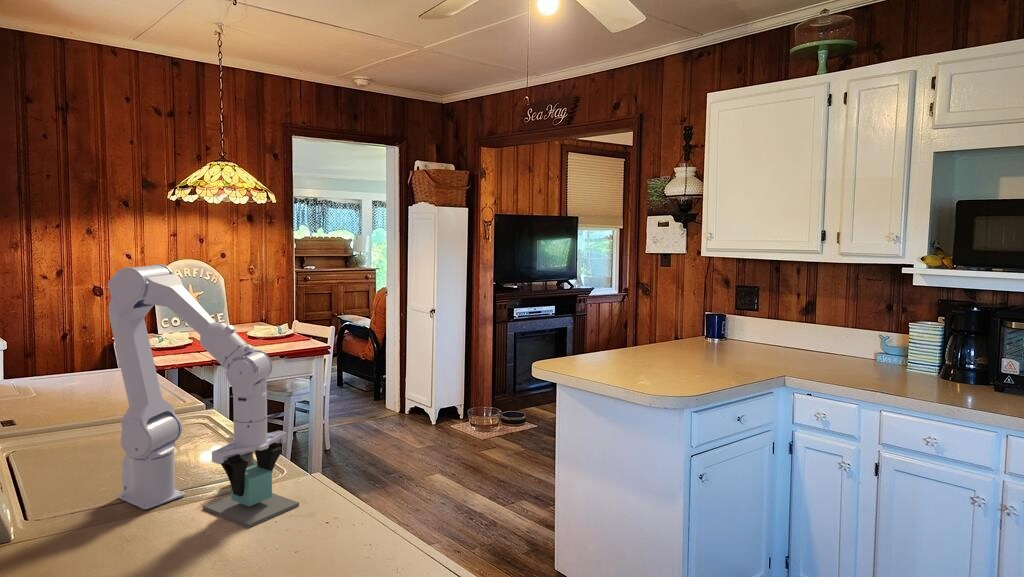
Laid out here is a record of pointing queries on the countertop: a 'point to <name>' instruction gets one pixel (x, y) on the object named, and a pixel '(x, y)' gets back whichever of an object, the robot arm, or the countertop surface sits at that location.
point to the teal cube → (255, 486)
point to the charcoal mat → (250, 509)
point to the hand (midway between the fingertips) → (251, 489)
